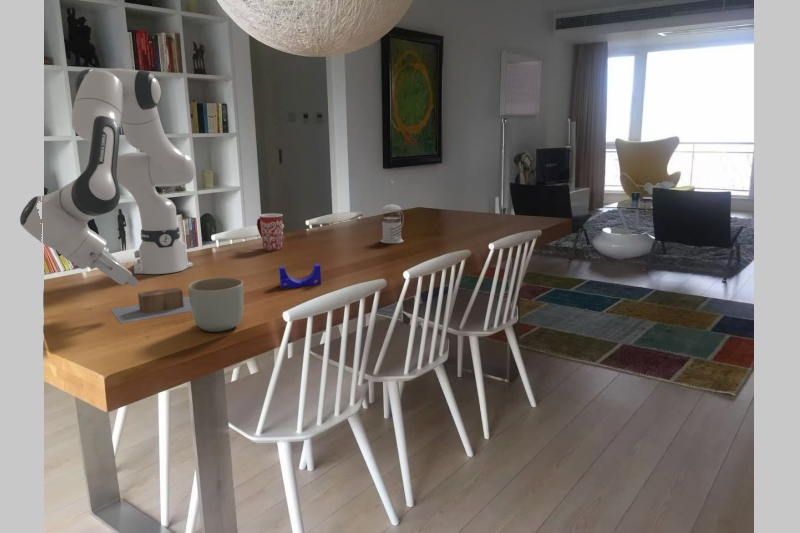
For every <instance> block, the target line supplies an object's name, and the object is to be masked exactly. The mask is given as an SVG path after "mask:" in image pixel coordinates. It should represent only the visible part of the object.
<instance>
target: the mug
mask: <svg viewBox="0 0 800 533" xmlns="http://www.w3.org/2000/svg"><path fill="white" fill-rule="evenodd" d="M283 217H284V215H283V214H282V213H276V212H275V213H274V212H273V213H262V214H259V216H258V218H257V219H256V227H257V231H258V233H259V236H260V238H261V240H262V249H263V250H264V251H266V252H267V251H269V252H274V251H276V252H277V251H280V250H282V249H283Z"/></svg>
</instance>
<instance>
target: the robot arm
mask: <svg viewBox="0 0 800 533" xmlns="http://www.w3.org/2000/svg"><path fill="white" fill-rule="evenodd" d="M74 90H75V94H76V96H75V99H74V103H73V108H72V113H71V127H72V129H73V131H74V132H75V134H76V135H78V137H80V138H81V139H83V140H85V141H87V142H89V143H88V144H89V146H88V153H87V159H86V160H87V161H86V166H85V169H84V170H83V172H82V173H81V174H80V175H79V176H78V177H77V178H75V179H73V181H71V182H70V183H68V184H66V185H64V186H63V187H61V188H58V189H57V190H55V191H52V192H50V193H47V194H43V195H40V196H39V195H36V196H34V197H31V199H30V200H29V201H28V202H27V204H26V205H25V206H24V208H23V210H22V212H21V214H20V216H19V223H20V225H21V227H22V228H24V230H25V231H26V232H27V233H29V235H31V236H32V237H33V238H35V239H36V240H38V241H39V242H40V243H42V241H41V239H42V238H41V237H42V235H41V234H42V223H43V243H42V244H43V245H45V246H46V247H48V248H51V249H53V250H56V251H57V252H58V253H59V254H60V255H61V256H62V257H63V258H65V259H66V260H67V261H69V262H71V263H72V264H73V265H74V266H76V267H78V268H80V269H81V270H84V269H87V268H89V269H91V270H93V269H95V268H96V269H98V271H100V272H102V273H103V274H105V275H106V276H107V277H109V278H110V279H111V280H113V281H114V282H116V283H118V284H119V285H122V286H123V285H124V286H125V285H126V283H127V284H129V285H131V286H132V287H137V286H138V285H139V283H140V282H139V280H138V279H137V278H136V277H135V276H133V273H134V275H135V274H142V275H143V274H147V275H162V274H163V275H164V274H171V273H172V274H173V273H177V272H181V271H184V270H186V269H189V268H191V267H193V266H194V264H193V262H191V261H188V253H187V247H186V243H185V242H184V241H183V240H181V231H180V227H179V226H178V218H177V206H176V205H175V204H174V202H173V201H172V200H171V199H169V198H167V197H164V196H163V195H160V194H159V193H158V192H157V189H156V187H178V186H182V185H187V184H191V182H192V181H193V180H194V178H195V176H196V171H197V170H196V164H195V162H194V160H193V158H192V157H191V156H190V155H189V154H188V153H185V152H183V151H181V150H180V149H178V148H177V147H176V146H175V145H174V144H173V143H172V142H171V141H170V140H169V138H168V137H167V135H166V133H165V131H164V127H163V126H162V123H161V122H162V121H161V118H160V114H159V110H158V105H159V104H160V101H161V95H162V89H161V85H160V82H159V79H158V77H156V75H155V74H154V73H153V72H150V71H146V70H143V69H140V70H135V69H131V68H130V69H128V68H121V67H120V68H118V67H117V68H101V69H100V68H99V69H96V68H88V69H84V70H81V71H80V72H79V73H78V74H77V75H76V77H75V81H74ZM121 126H122V131H123V135H124V137H125V140H126V142H127V143H128V144H129V145H131V146H132V147H133V148H134V149H137V150H139V151H141V152H138V151H137V152H126V153H122V154H119V148H120V127H121ZM120 186H121V187H122V188H124V189H125V190H127V191H128V192H129V194H130V195H132V197H133V198H134V200H135V202H136V205H137V207H138V211H139V217H140V223H141V224H140V225H141V229H140V240H141V243H140V245H139V248H138V250H137V249H136V251H134V253H133V254H134V259H137V261H134V263H133V266H134V267H133V273H132V272H131V271H130V270H129V269H128V268H127V267H126V266H125V265H123V264H122V263H121V262H120V261H119V260H118V259H117V258H116V257H115V256H114V255H113V254H112V253H111V252H109V251H110V248H108V246H107V243H108V241H107V239H105V238H103V237H102V236H101V235H99V234H98V233H96V232H95V231H94V230H92V229H91V228H89V227H88V223H89V222H90V221H91V220H93V219H95V218H97V217H99V216H102V215H104V214H108V213H110V212H112V211H114V210H115V209H116V207H118V205H119V203H120V199H121V190H120ZM41 196H42V201H41ZM38 201H40V202H42V219H40V216H39V213H38V211H39V209H37V207H36V206H37V203H39V202H38ZM40 223H41V224H40Z"/></svg>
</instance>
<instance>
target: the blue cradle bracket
mask: <svg viewBox="0 0 800 533" xmlns="http://www.w3.org/2000/svg"><path fill="white" fill-rule="evenodd" d="M278 270H279V273H278V274H279V286H280V289H282V290H283V288H287V289H297V288H296V287H300V288H303V287H305V286H306V287H307V285H308V286H318V285H319V286H320V285H322V277H321V275H322V274H321V273H322V272H321V271H322V270H321V264H320V263H314V264H313V269H312V271H311V273H310V274H309V275H307V277H304V278H300V279H298V278H297V279H296V278H293V277H291V276H290V275H289V274H288V273H287V272H286V267H285V266H284V265H281V266H278Z"/></svg>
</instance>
